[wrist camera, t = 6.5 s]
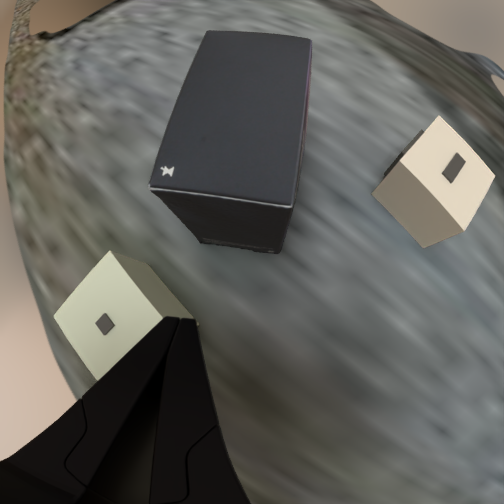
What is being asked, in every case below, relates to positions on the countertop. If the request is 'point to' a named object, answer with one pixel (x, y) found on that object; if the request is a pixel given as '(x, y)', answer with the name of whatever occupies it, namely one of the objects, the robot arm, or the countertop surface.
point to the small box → (237, 139)
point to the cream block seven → (435, 185)
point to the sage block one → (115, 310)
